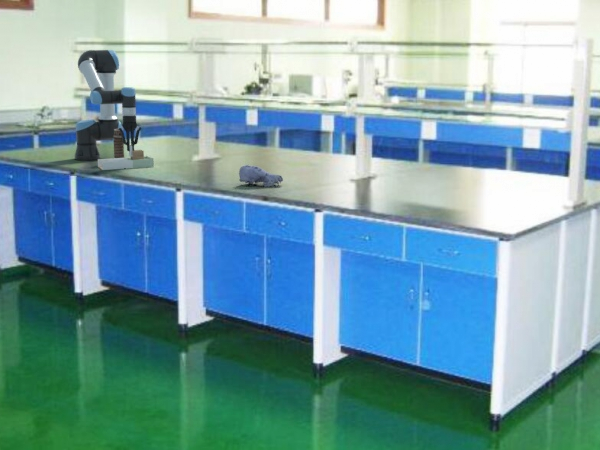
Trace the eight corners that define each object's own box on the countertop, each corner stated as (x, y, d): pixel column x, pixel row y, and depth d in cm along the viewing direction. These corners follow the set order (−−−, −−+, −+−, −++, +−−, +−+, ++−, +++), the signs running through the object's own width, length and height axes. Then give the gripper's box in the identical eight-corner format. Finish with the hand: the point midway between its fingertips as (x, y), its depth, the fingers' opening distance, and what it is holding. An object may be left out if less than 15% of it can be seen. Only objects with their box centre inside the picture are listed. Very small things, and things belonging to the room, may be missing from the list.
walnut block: (130, 160, 484) (130, 150, 482) (141, 160, 486) (140, 149, 485) (133, 161, 478) (133, 151, 477) (143, 161, 481) (143, 150, 480)
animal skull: (276, 192, 409) (276, 172, 406) (234, 187, 416) (234, 167, 413) (286, 185, 422) (286, 165, 418) (245, 180, 428) (245, 161, 425)
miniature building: (111, 164, 490) (109, 130, 486) (108, 162, 500) (106, 128, 496) (129, 163, 494) (128, 129, 490) (126, 161, 504) (124, 127, 499)
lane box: (98, 167, 480) (97, 158, 479) (148, 164, 492) (147, 155, 491) (102, 170, 469) (102, 161, 468) (153, 166, 481) (153, 157, 480)
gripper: (119, 115, 469) (121, 158, 474) (142, 115, 475) (143, 157, 480) (116, 115, 476) (118, 156, 481) (138, 114, 481) (140, 155, 486)
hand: (130, 156), depth 480 cm, fingers closed
